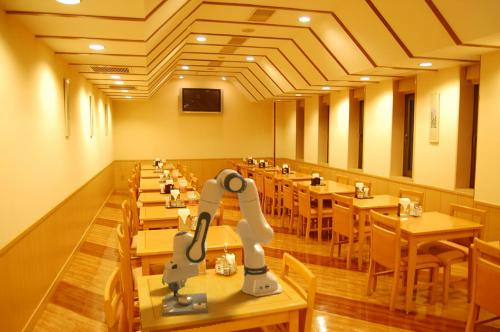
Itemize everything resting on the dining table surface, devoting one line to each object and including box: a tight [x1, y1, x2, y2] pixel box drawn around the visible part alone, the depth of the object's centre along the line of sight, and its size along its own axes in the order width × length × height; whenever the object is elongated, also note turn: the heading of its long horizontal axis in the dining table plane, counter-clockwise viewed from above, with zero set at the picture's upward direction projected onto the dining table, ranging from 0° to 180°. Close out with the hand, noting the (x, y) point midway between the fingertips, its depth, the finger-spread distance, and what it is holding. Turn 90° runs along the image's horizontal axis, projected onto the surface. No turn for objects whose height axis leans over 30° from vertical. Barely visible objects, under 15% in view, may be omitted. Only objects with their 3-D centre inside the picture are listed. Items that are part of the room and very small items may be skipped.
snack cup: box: [161, 276, 189, 290], centre depth 229 cm, size 16×10×10 cm
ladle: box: [172, 283, 192, 306], centre depth 209 cm, size 15×7×6 cm, turn 38°
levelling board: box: [161, 292, 209, 317], centre depth 207 cm, size 23×20×4 cm
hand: (181, 287), depth 216 cm, fingers closed
